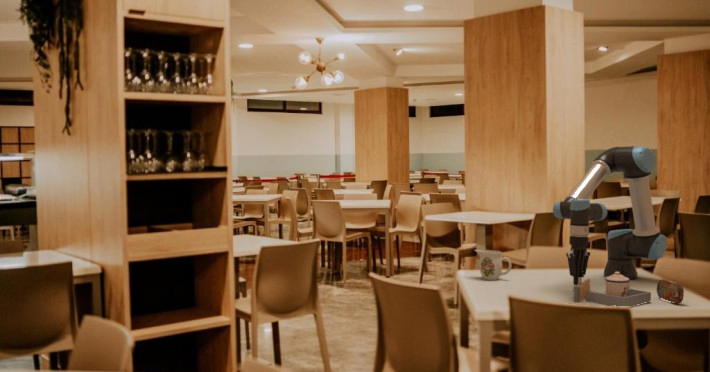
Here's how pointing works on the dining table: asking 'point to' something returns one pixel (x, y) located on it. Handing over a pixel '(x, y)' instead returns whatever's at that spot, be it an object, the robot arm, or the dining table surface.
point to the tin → (670, 291)
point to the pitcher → (492, 264)
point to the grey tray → (615, 297)
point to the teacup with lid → (617, 285)
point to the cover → (584, 288)
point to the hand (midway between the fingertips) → (577, 292)
